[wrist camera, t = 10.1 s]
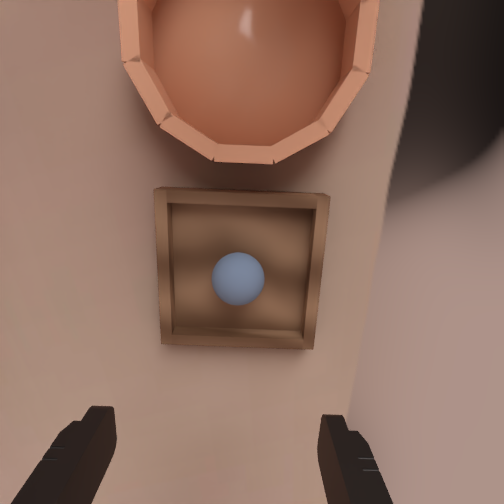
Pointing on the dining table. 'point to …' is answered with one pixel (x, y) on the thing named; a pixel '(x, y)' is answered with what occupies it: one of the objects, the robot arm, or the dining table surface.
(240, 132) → the bowl
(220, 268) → the ball
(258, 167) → the dining table surface
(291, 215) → the tray
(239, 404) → the dining table surface
